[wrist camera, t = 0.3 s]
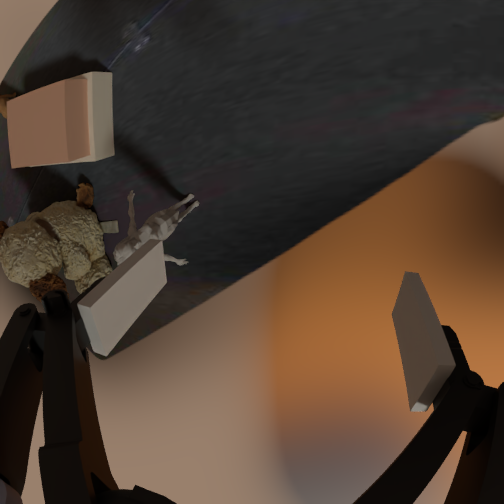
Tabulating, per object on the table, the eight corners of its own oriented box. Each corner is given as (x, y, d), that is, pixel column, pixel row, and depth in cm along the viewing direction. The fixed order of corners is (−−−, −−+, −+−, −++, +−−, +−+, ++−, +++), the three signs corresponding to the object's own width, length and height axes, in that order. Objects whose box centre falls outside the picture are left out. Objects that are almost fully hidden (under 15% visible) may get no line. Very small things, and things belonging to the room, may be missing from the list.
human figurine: (220, 229, 47) (167, 294, 31) (202, 241, 48) (146, 307, 33) (172, 166, 44) (96, 203, 28) (156, 181, 46) (80, 222, 30)
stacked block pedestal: (43, 92, 42) (4, 97, 33) (112, 72, 39) (69, 71, 30) (47, 160, 48) (9, 174, 40) (114, 154, 45) (74, 168, 36)
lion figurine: (4, 113, 46) (-27, 120, 38) (6, 90, 43) (-24, 96, 35) (38, 120, 45) (4, 128, 37) (42, 94, 42) (7, 99, 35)
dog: (41, 228, 56) (-25, 270, 39) (55, 154, 48) (-28, 186, 30) (115, 290, 58) (55, 352, 41) (143, 218, 49) (64, 278, 32)
